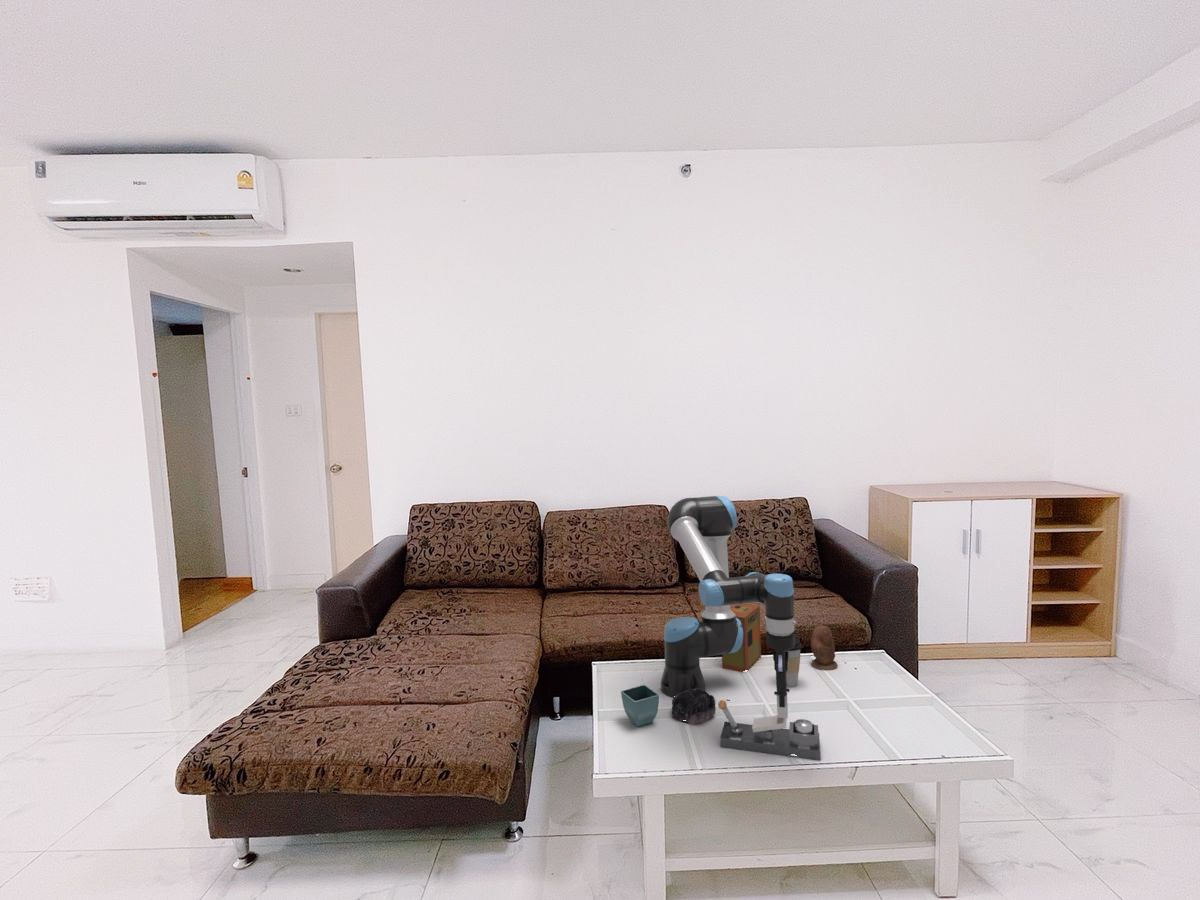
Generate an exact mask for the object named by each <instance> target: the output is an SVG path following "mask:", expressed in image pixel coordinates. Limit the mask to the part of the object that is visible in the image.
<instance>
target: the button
mask: <svg viewBox="0 0 1200 900" xmlns="http://www.w3.org/2000/svg"><path fill="white" fill-rule="evenodd" d="M794 722H795V733H801V734H809V735H812V724H813V723H812V721H810V720H808V719H803V718H800V719H796V720H794Z"/></svg>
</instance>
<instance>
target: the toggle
mask: <svg viewBox="0 0 1200 900" xmlns="http://www.w3.org/2000/svg"><path fill="white" fill-rule="evenodd" d="M717 706H718V708H719V709H720V710H722V712H723V714H724V715H725V716H724V717H726V719H727V722H730V724H731V726H732V728H734V727H736V726H737V724H736V723H737V722H736V720H735V718H734V717H733V715H732V714H731V712H730V709H728V705H727V702H726V701H725V700H723V699H722V700H719V701H718V704H717Z"/></svg>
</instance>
